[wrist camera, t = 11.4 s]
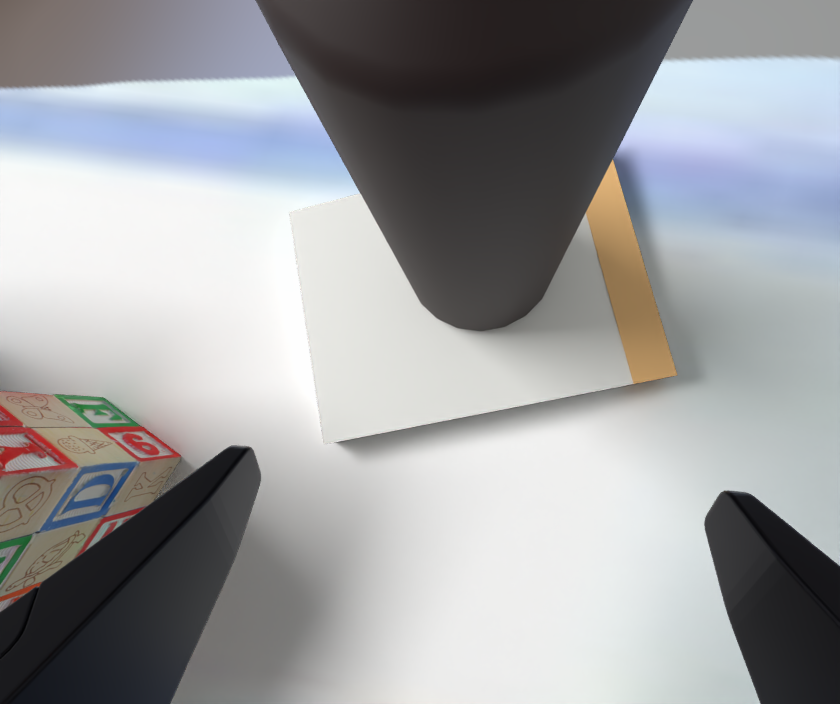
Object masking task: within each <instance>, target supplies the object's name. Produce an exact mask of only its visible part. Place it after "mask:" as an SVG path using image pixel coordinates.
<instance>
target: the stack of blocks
mask: <svg viewBox="0 0 840 704" xmlns="http://www.w3.org/2000/svg"><path fill="white" fill-rule="evenodd" d="M180 459H181V456H180V455H179V454H178V453H177V452H175V451H174V450H173V449H171V448H170V447H169V446H167V445H166V444H165V443H163V442H162V441H161V440H160V439H158V438H157V437H155V436H154V435H153V434H152V433H150V432H149V431H147V430H146V429H145V428H144V427H141V426H140V425H138V424H137V423H136V422H134V421H133V420H132V419H130V418H129V417H128V416H126V415H125V414H124V413H123V412H121V411H120V410H119V409H117V408H116V407H115V406H114V405H112V404H111V403H110V402H108V401H107V400H106V399H105V398H103V397H91V396H76V395H57V394H53V395H46V394H34V393H21V392H7V391H0V612H1V611H2V610H4V609H5V608H6V607H8V606H9V605H11V604H12V603H13V602H15V601H16V600H18V599H19V598H20V597H22V596H23V595H24V594H26V593H27V592H29V591H30V590H31V589H33V588H34V587H36V586H40V584H41V583H42V582H43V581H44V580H45V579H47V578H48V577H50V576H51V575H52V574H54V573H55V572H56V571H58V570H59V569H61V568H62V567H63V566H65V565H66V564H67V563H69V562H70V561H72V560H73V559H74V558H76V557H77V556H79V555H80V554H81V553H83V552H84V551H85V550H87V549H88V548H90V547H91V546H92V545H94V544H95V543H96V542H98V541H99V540H101V539H102V538H103V537H105V536H106V535H108V534H109V533H110V532H112V531H113V530H114V529H116V528H117V527H119V526H120V525H121V524H123V523H124V522H125V521H127V520H128V519H130V518H131V517H132V516H134V515H135V514H136V513H138V512H139V511H141V510H142V509H143V508H145V507H146V506H148V505H149V504H150V503H152V502H153V501H154V499H155V498H156V496H157V495H158V493H159V492H160V490H161V489H162V487H163V486H164V484H165V483H166V481H167V480H168V478H169V477H170V475H171V473H172V472H173V470H174V469H175V467H176V466H177V464H178V463H179V461H180Z"/></svg>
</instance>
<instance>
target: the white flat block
mask: <svg viewBox="0 0 840 704" xmlns="http://www.w3.org/2000/svg"><path fill="white" fill-rule="evenodd" d="M289 215H290V222H291V229H292V236H293V242H294V249H295V256H296V263H297V269H298V276H299V283H300V290H301V296H302V303H303V310H304V317H305V323H306V330H307V337H308V343H309V350H310V357H311V364H312V370H313V377H314V384H315V391H316V397H317V404H318V411H319V418H320V424H321V431H322V438H323V444H329V443H334V442H340V441H345V440H350V439H355V438H360V437H365V436H370V435H375V434H381V433H386V432H391V431H396V430H401V429H406V428H411V427H416V426H422V425H427V424H432V423H437V422H442V421H447V420H452V419H457V418H463V417H468V416H473V415H478V414H483V413H488V412H493V411H498V410H504V409H509V408H514V407H519V406H524V405H529V404H534V403H539V402H545V401H550V400H555V399H560V398H565V397H570V396H575V395H580V394H586V393H591V392H596V391H601V390H606V389H611V388H616V387H621V386H627V385H632V384H637V383H642V382H647V381H652V380H657V379H662V378H667V377H672V376H677V372H676V369H675V366H674V362H673V359H672V355H671V352H670V349H669V345H668V342H667V339H666V335H665V332H664V329H663V325H662V322H661V319H660V315H659V312H658V309H657V305H656V302H655V299H654V295H653V292H652V289H651V285H650V282H649V279H648V275H647V272H646V269H645V265H644V262H643V259H642V255H641V252H640V249H639V245H638V242H637V238H636V235H635V232H634V228H633V225H632V222H631V218H630V215H629V212H628V208H627V205H626V202H625V198H624V195H623V192H622V188H621V185H620V182H619V178H618V175H617V172H616V168H615V165H614V162H613V160H612V162H611V164H610V166H609V168H608V170H607V172H606V174H605V176H604V178H603V179H602V181H601V183H600V185H599V187H598V189H597V191H596V193H595V195H594V197H593V199H592V201H591V203H590V205H589V207H588V209H587V211H586V213H585V215H584V217H583V219H582V221H581V223H580V225H579V227H578V229H577V231H576V233H575V235H574V237H573V239H572V241H571V243H570V245H569V247H568V249H567V251H566V253H565V255H564V257H563V259H562V261H561V263H560V265H559V267H558V269H557V271H556V273H555V275H554V277H553V279H552V281H551V283H550V285H549V287H548V289H547V291H546V293H545V294H544V296H543V298H542V300H541V301H540V302H539V303H538V304H537V305H536V306H535V307H534V308H533V309H532V310H531V311H530V312H529V313H528V314H527V315H526V316H525V317H523V318H521V319H519V320H517V321H515V322H513V323H511V324H509V325H507V326H506V327H502V328H497V329H491V330H486V331H474V330H466V329H459V328H456V327H454V326H451V325H449V324H447V323H445V322H443V321H441V320H439V319H437V318H436V317H435V316H434V315H433V314H431V313H430V312H429V311H428V310H427V309H426V308H425V307H424V306H423V305H422V304H421V303H420V301H419V299H418V297H417V296H416V294H415V292H414V290H413V288H412V286H411V285H410V283H409V281H408V279H407V277H406V275H405V274H404V272H403V270H402V268H401V266H400V265H399V263H398V261H397V259H396V257H395V255H394V254H393V252H392V250H391V248H390V246H389V244H388V243H387V241H386V239H385V237H384V235H383V234H382V232H381V230H380V228H379V226H378V224H377V223H376V221H375V219H374V217H373V215H372V214H371V212H370V210H369V208H368V206H367V204H366V203H365V201H364V199H363V197H362V195H361V193H360V194H356V195H353V196H349V197H345V198H341V199H337V200H333V201H330V202H326V203H322V204H318V205H314V206H311V207H307V208H303V209H299V210H295V211H291V212H289Z"/></svg>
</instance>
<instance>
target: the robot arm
mask: <svg viewBox="0 0 840 704" xmlns="http://www.w3.org/2000/svg"><path fill="white" fill-rule="evenodd" d="M260 481H261V473H260V469H259V466H258V463H257V459H256V456H255V453H254V450H253V449H252V448H251V447H249V446H238V445H233V446H230V447H228V448H226V449H225V450H223V451H222V452H221V453H219V454H218V455H217V456H215V457H214V458H212V459H211V460H210V461H208V462H207V463H205V464H204V465H203V466H201V467H200V468H199V469H197V470H196V471H194V472H193V473H192V474H190V475H189V476H188V477H186V478H185V479H183V480H182V481H181V482H179V483H178V484H177V485H175V486H174V487H172V488H171V489H170V490H168V491H167V492H165V493H164V494H163V495H161V496H160V497H159V498H157V499H156V500H154V501H153V502H152V503H150V504H149V505H148V506H146V507H145V508H143V509H142V510H141V511H139V512H138V513H136V514H135V515H134V516H132V517H131V518H130V519H128V520H127V521H125V522H124V523H123V524H121V525H120V526H119V527H117V528H116V529H114V530H113V531H112V532H110V533H109V534H108V535H106V536H105V537H103V538H102V539H101V540H99V541H98V542H96V543H95V544H94V545H92V546H91V547H90V548H88V549H87V550H85V551H84V552H83V553H81V554H80V555H79V556H77V557H76V558H74V559H73V560H72V561H70V562H69V563H67V564H66V565H65V566H63V567H62V568H61V569H59V570H58V571H56V572H55V573H54V574H52V575H51V576H50V577H48V578H47V579H45V580H44V581H43V582H42V583H41V584H40V586H36V587H34V588H33V589H31V590H30V591H29V592H27V593H26V594H24V595H23V596H22V597H20V598H19V599H18V600H16V601H15V602H13V603H12V604H11V605H9V606H8V607H6V608H5V609H4V610H2V611H1V612H0V704H170V703H171V701H172V698H173V696H174V694H175V692H176V689H177V687H178V685H179V683H180V681H181V678H182V676H183V674H184V672H185V669H186V667H187V665H188V663H189V660H190V658H191V656H192V654H193V652H194V649H195V647H196V645H197V643H198V640H199V638H200V636H201V634H202V632H203V629H204V627H205V625H206V623H207V620H208V618H209V616H210V614H211V611H212V609H213V607H214V605H215V603H216V600H217V598H218V596H219V594H220V591H221V589H222V587H223V585H224V582H225V580H226V578H227V576H228V574H229V571H230V569H231V567H232V564H233V562H234V560H235V557H236V555H237V552H238V549H239V546H240V543H241V540H242V537H243V534H244V531H245V528H246V525H247V522H248V519H249V516H250V513H251V510H252V507H253V504H254V501H255V498H256V495H257V492H258V489H259V486H260ZM704 525H705V532H706V535H707V539H708V543H709V547H710V551H711V554H712V558H713V562H714V566H715V570H716V574H717V577H718V581H719V585H720V589H721V593H722V596H723V600H724V604H725V607H726V610H727V614H728V617H729V620H730V623H731V625H732V628H733V631H734V634H735V636H736V639H737V642H738V644H739V647H740V650H741V652H742V655H743V658H744V660H745V663H746V666H747V668H748V671H749V674H750V676H751V679H752V682H753V684H754V687H755V690H756V692H757V695H758V698H759V700H760V703H761V704H840V566H839V565H838V564H837V563H835V562H834V561H833V560H832V559H830V558H829V557H828V556H827V555H826V554H824V553H823V552H822V551H821V550H819V549H818V548H817V547H816V546H814V545H813V544H812V543H811V542H810V541H808V540H807V539H806V538H805V537H803V536H802V535H801V534H800V533H799V532H797V531H796V530H795V529H794V528H792V527H791V526H790V525H789V524H787V523H786V522H785V521H784V520H783V519H781V518H780V517H779V516H778V515H776V514H775V513H774V512H773V511H771V510H770V509H769V508H768V507H767V506H765V505H764V504H763V503H762V502H760V501H759V500H758V499H757V498H755V497H754V496H753V495H751V494H749V493H746V492H738V491H723V492H721V493H720V494H719V496H718V497H717V499H716V501H715V502H714V504H713V505H712V507H711V509H710V510H709V512H708V513H707V515H706V518H705V524H704Z"/></svg>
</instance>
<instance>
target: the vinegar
mask: <svg viewBox="0 0 840 704" xmlns="http://www.w3.org/2000/svg"><path fill="white" fill-rule="evenodd" d="M692 1H693V0H256V2H257V4H258V6H259V7H260V10H261V12H262V13H263V15H264V17H265V19H266V21H267V23H268V24H269V27H270V29H271V31H272V32H273V34H274V36H275V38H276V40H277V42H278V44H279V46H280V47H281V49H282V51H283V53H284V55H285V57H286V58H287V60H288V62H289V64H290V66H291V68H292V70H293V71H294V73H295V75H296V77H297V79H298V80H299V82H300V84H301V86H302V88H303V90H304V91H305V93H306V95H307V97H308V99H309V100H310V102H311V104H312V106H313V108H314V110H315V111H316V113H317V115H318V117H319V119H320V121H321V122H322V124H323V126H324V128H325V130H326V131H327V133H328V135H329V137H330V139H331V141H332V142H333V144H334V146H335V148H336V150H337V152H338V153H339V155H340V157H341V159H342V161H343V162H344V164H345V166H346V168H347V170H348V172H349V173H350V175H351V177H352V179H353V181H354V183H355V184H356V186H357V188H358V190H359V192H360V193H361V195H362V197H363V199H364V201H365V203H366V204H367V206H368V208H369V210H370V212H371V214H372V215H373V217H374V219H375V221H376V223H377V224H378V226H379V228H380V230H381V232H382V234H383V235H384V237H385V239H386V241H387V243H388V244H389V246H390V248H391V250H392V252H393V254H394V255H395V257H396V259H397V261H398V263H399V265H400V266H401V268H402V270H403V272H404V274H405V275H406V277H407V279H408V281H409V283H410V285H411V286H412V288H413V290H414V292H415V294H416V296H417V297H418V299H419V301H420V303H421V304H422V305H423V306H424V307H425V308H426V309H427V310H428V311H429V312H430V313H431V314H433V315H434V316H435V317H436V318H437V319H439V320H441V321H443V322H445V323H447V324H449V325H451V326H454V327H456V328H459V329H466V330H474V331H486V330H491V329H497V328H502V327H506V326H507V325H509V324H511V323H513V322H515V321H517V320H519V319H521V318H523V317H525V316H526V315H527V314H528V313H529V312H530V311H531V310H532V309H533V308H534V307H535V306H536V305H537V304H538V303H539V302H540V301H541V300H542V298H543V296H544V294H545V293H546V291H547V289H548V287H549V285H550V283H551V281H552V279H553V277H554V275H555V273H556V271H557V269H558V267H559V265H560V263H561V261H562V259H563V257H564V255H565V253H566V251H567V249H568V247H569V245H570V243H571V241H572V239H573V237H574V235H575V233H576V231H577V229H578V227H579V225H580V223H581V221H582V219H583V217H584V215H585V213H586V211H587V209H588V207H589V205H590V203H591V201H592V199H593V197H594V195H595V193H596V191H597V189H598V187H599V185H600V183H601V181H602V179H603V178H604V176H605V174H606V172H607V170H608V168H609V166H610V164H611V162H612V160H613V158H614V156H615V154H616V152H617V150H618V148H619V146H620V144H621V142H622V140H623V138H624V136H625V134H626V132H627V130H628V128H629V126H630V124H631V122H632V120H633V118H634V116H635V114H636V112H637V110H638V108H639V106H640V104H641V102H642V100H643V98H644V96H645V94H646V92H647V90H648V88H649V86H650V84H651V82H652V80H653V78H654V76H655V74H656V72H657V70H658V68H659V66H660V64H661V62H662V61H663V59H664V56H665V55H666V53H667V51H668V49H669V47H670V45H671V43H672V41H673V39H674V37H675V34H676V33H677V31H678V29H679V27H680V25H681V23H682V21H683V19H684V17H685V15H686V13H687V11H688V9H689V7H690V5H691V3H692Z"/></svg>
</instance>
